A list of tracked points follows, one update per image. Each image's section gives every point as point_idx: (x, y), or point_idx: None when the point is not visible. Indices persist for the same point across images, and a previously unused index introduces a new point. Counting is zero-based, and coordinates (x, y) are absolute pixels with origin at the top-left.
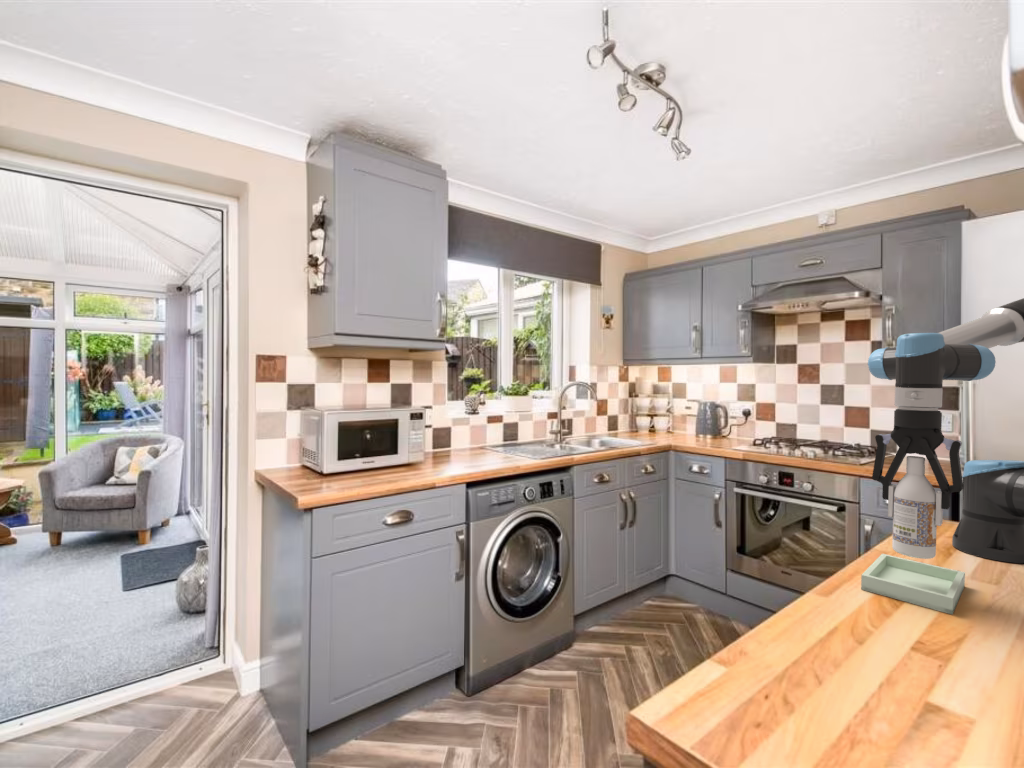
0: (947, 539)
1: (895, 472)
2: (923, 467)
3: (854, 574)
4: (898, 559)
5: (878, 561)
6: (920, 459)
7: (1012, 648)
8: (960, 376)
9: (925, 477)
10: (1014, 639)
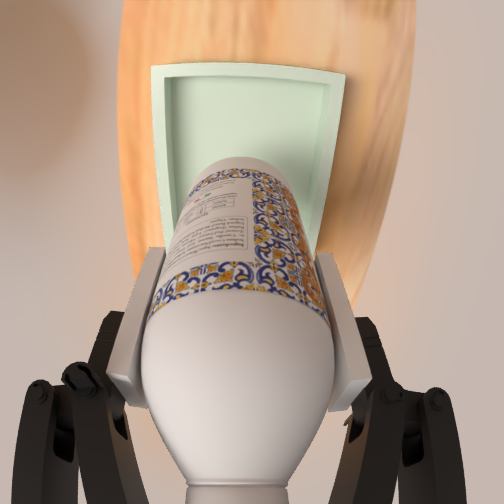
0: None
1: (133, 472)
2: None
3: (136, 173)
4: (194, 75)
5: (161, 146)
6: None
7: (355, 296)
8: None
9: (290, 474)
10: (365, 272)
